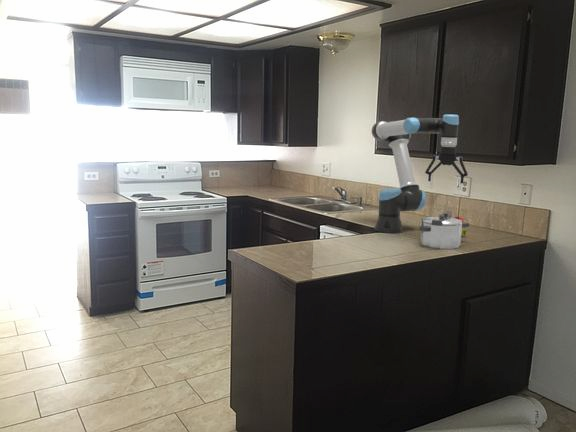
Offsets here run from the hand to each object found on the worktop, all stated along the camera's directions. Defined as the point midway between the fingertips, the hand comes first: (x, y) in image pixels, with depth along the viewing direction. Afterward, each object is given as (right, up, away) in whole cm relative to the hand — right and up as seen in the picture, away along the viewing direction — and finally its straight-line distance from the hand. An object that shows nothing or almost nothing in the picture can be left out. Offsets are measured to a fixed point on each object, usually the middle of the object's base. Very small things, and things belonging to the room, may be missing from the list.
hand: (444, 188), depth 251 cm
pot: (-2, -27, -6) cm, 28 cm away
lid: (-3, -16, -6) cm, 17 cm away
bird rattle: (+11, -25, +14) cm, 30 cm away
